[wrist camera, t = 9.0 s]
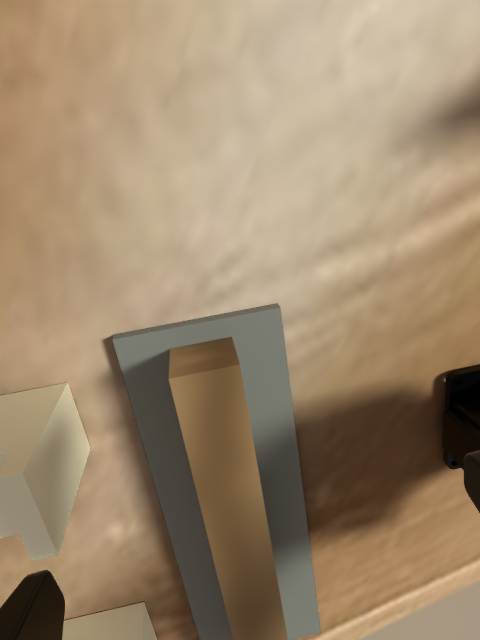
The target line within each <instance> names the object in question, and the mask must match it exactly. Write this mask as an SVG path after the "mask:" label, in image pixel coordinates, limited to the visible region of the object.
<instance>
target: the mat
mask: <svg viewBox="0 0 480 640" xmlns="http://www.w3.org/2000/svg"><path fill="white" fill-rule="evenodd" d="M227 337H232V339H233V342H234V346H235V349H236V352H237V356H238V359H239V363H240V367H241V373H242V379H243V385H244V390H245V396H246V402H247V408H248V413H249V419H250V425H251V431H252V436H253V442H254V448H255V453H256V459H257V465H258V471H259V476H260V482H261V488H262V494H263V499H264V505H265V511H266V517H267V522H268V528H269V534H270V540H271V545H272V551H273V557H274V563H275V568H276V574H277V580H278V585H279V591H280V597H281V603H282V608H283V614H284V620H285V626H286V631H287V637H288V640H293V639H297V638H302V637H306V636H310V635H314V634H318V633H321V629H320V621H319V613H318V605H317V597H316V589H315V581H314V573H313V565H312V557H311V549H310V541H309V533H308V525H307V517H306V509H305V501H304V493H303V485H302V477H301V469H300V461H299V453H298V445H297V437H296V429H295V421H294V413H293V405H292V397H291V389H290V381H289V373H288V365H287V357H286V349H285V341H284V333H283V325H282V317H281V309H280V306H279V305H278V304H272V305H267V306H262V307H257V308H251V309H246V310H241V311H236V312H230V313H225V314H220V315H215V316H209V317H204V318H199V319H194V320H188V321H183V322H178V323H173V324H168V325H162V326H157V327H152V328H147V329H141V330H136V331H131V332H126V333H120V334H115V335H114V336H113V339H112V340H113V344H114V347H115V351H116V354H117V358H118V361H119V364H120V368H121V371H122V375H123V378H124V382H125V385H126V388H127V392H128V395H129V399H130V402H131V406H132V409H133V413H134V416H135V419H136V423H137V426H138V430H139V433H140V437H141V440H142V443H143V447H144V450H145V454H146V457H147V461H148V464H149V467H150V471H151V474H152V478H153V481H154V485H155V488H156V492H157V495H158V498H159V502H160V505H161V509H162V512H163V516H164V519H165V522H166V526H167V529H168V533H169V536H170V540H171V543H172V546H173V550H174V553H175V557H176V560H177V564H178V567H179V571H180V574H181V577H182V581H183V584H184V588H185V591H186V595H187V598H188V601H189V605H190V608H191V612H192V615H193V619H194V622H195V625H196V629H197V632H198V636H199V639H200V640H233V636H232V632H231V628H230V624H229V620H228V616H227V612H226V608H225V604H224V600H223V596H222V592H221V588H220V584H219V580H218V576H217V572H216V568H215V564H214V560H213V556H212V552H211V548H210V544H209V540H208V536H207V532H206V528H205V524H204V520H203V516H202V512H201V507H200V503H199V499H198V495H197V491H196V487H195V483H194V479H193V475H192V471H191V467H190V463H189V459H188V455H187V451H186V447H185V443H184V439H183V435H182V431H181V427H180V423H179V419H178V415H177V411H176V407H175V403H174V399H173V395H172V391H171V387H170V383H169V360H170V349H171V348H176V347H181V346H186V345H191V344H196V343H201V342H206V341H212V340H217V339H222V338H227Z"/></svg>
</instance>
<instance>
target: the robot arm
mask: <svg viewBox="0 0 480 640" xmlns="http://www.w3.org/2000/svg"><path fill="white" fill-rule="evenodd" d="M458 378H459V380H458V381H457V382H455V381H456V380H457V379H458ZM442 446H443V448H444V463H445V464H446V465H447V466H448V467H449V468H450V469H457V468H462V469H463V470H464V485H465V489H466V491H467V493H468V495H469V497H470V498H471V500H472V501H473V503H474V505H475V506H476V508H477V509H478V511H479V513H480V366H476V367H471V368H466V369H461V370H457V371H453V372H451V373H450V374H449V375H448V376H447V379H446V399H445V410H444V413H443V444H442ZM64 612H65V601H64V596H63V594H62V592H61V590H60V588H59V586H58V585H57V583H56V581H55V579H54V577H53V575H52V574H51V572H50V571H48V570H43V571H39V572H36V573H32V574H29V575H27V576H26V577H25V578H24V579H23V580H22V581H21V583H20V584H19V585H18V586H17V588H16V589H15V590H14V591H13V593H12V594H11V595H10V597H9V598H8V599H7V600H6V602H5V603H4V604H3V605H2V607H1V608H0V640H62V635H63V624H64Z"/></svg>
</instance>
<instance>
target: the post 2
mask: <svg viewBox="0 0 480 640" xmlns="http://www.w3.org/2000/svg"><path fill="white" fill-rule="evenodd" d="M62 640H157V637H156V635H155V632H154V629H153V626H152V623H151V620H150V617H149V615H148V612H147V609H146V606H145V603H144V602H142V603H138V604H133V605H129V606H125V607H120V608H116V609H112V610H108V611H103V612H99V613H95V614H90V615H86V616H82V617H78V618H73V619H69V620H65V621H64V624H63V635H62Z"/></svg>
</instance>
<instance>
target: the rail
mask: <svg viewBox="0 0 480 640" xmlns="http://www.w3.org/2000/svg"><path fill="white" fill-rule="evenodd" d="M169 383H170V387H171V391H172V395H173V399H174V403H175V407H176V411H177V415H178V419H179V423H180V427H181V431H182V435H183V439H184V443H185V447H186V451H187V455H188V459H189V463H190V467H191V471H192V475H193V479H194V483H195V487H196V491H197V495H198V499H199V503H200V507H201V512H202V516H203V520H204V524H205V528H206V532H207V536H208V540H209V544H210V548H211V552H212V556H213V560H214V564H215V568H216V572H217V576H218V580H219V584H220V588H221V592H222V596H223V600H224V604H225V608H226V612H227V616H228V620H229V624H230V628H231V632H232V636H233V640H288V637H287V631H286V626H285V620H284V614H283V608H282V603H281V597H280V591H279V585H278V580H277V574H276V568H275V563H274V557H273V551H272V545H271V540H270V534H269V528H268V522H267V517H266V511H265V505H264V499H263V494H262V488H261V482H260V476H259V471H258V465H257V459H256V453H255V448H254V442H253V436H252V431H251V425H250V419H249V413H248V408H247V402H246V396H245V390H244V385H243V379H242V373H241V367H240V363H239V359H238V356H237V352H236V349H235V346H234V342H233V339H232V337H227V338H222V339H217V340H212V341H206V342H201V343H196V344H191V345H186V346H181V347H176V348H171V349H170V360H169Z"/></svg>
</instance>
